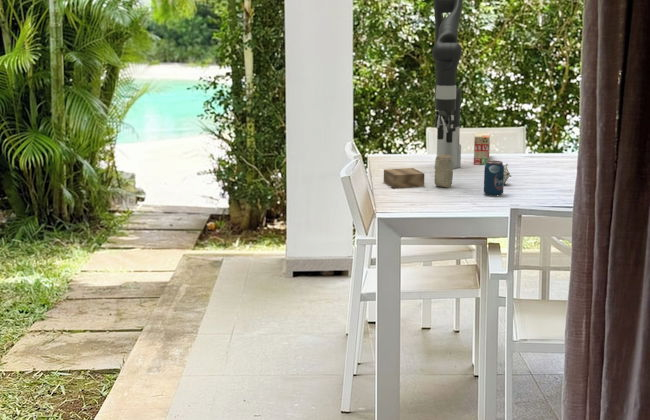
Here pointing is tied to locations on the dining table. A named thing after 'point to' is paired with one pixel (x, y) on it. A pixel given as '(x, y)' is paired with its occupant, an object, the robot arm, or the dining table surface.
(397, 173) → the walnut block
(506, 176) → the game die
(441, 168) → the carving
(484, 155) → the cardboard product box
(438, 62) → the robot arm
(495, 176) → the soda can
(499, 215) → the dining table surface
